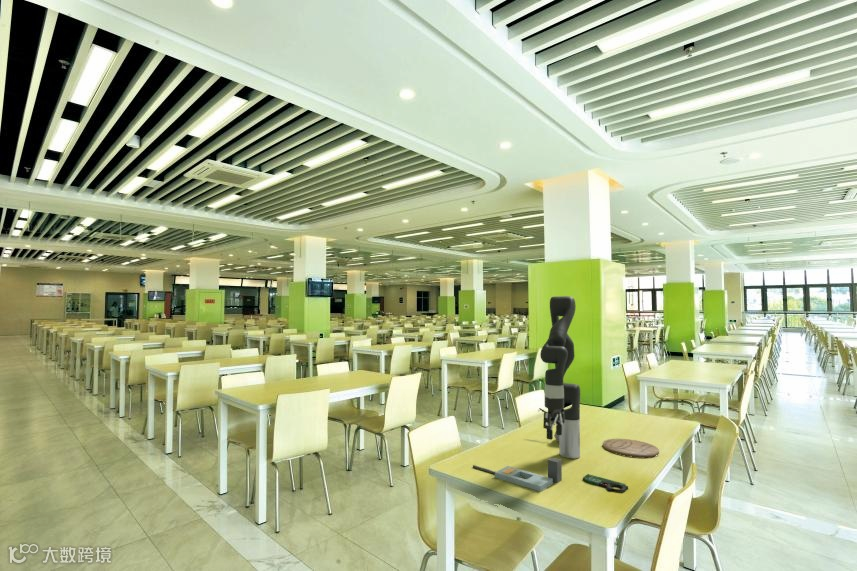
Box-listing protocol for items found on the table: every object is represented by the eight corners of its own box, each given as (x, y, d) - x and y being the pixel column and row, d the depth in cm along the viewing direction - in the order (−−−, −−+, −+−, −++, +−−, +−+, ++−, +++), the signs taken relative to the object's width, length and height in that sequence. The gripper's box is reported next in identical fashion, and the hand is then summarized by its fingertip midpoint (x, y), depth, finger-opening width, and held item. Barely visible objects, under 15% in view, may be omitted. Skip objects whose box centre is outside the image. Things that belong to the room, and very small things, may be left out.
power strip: (482, 463, 187) (482, 458, 187) (552, 483, 165) (552, 478, 165) (468, 469, 179) (468, 463, 179) (540, 491, 157) (540, 485, 157)
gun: (578, 480, 166) (588, 473, 174) (578, 484, 166) (588, 476, 174) (621, 492, 155) (630, 484, 163) (621, 496, 155) (630, 488, 163)
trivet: (664, 449, 210) (664, 445, 210) (652, 462, 191) (651, 458, 191) (611, 439, 226) (611, 435, 226) (595, 450, 207) (595, 446, 207)
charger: (552, 477, 171) (552, 457, 172) (561, 480, 169) (561, 459, 169) (547, 480, 168) (547, 459, 169) (557, 483, 166) (557, 462, 166)
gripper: (553, 392, 178) (553, 431, 177) (537, 396, 168) (537, 438, 167) (570, 394, 173) (570, 435, 172) (555, 399, 163) (555, 442, 162)
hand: (554, 437), depth 169 cm, fingers open, 8 cm apart
